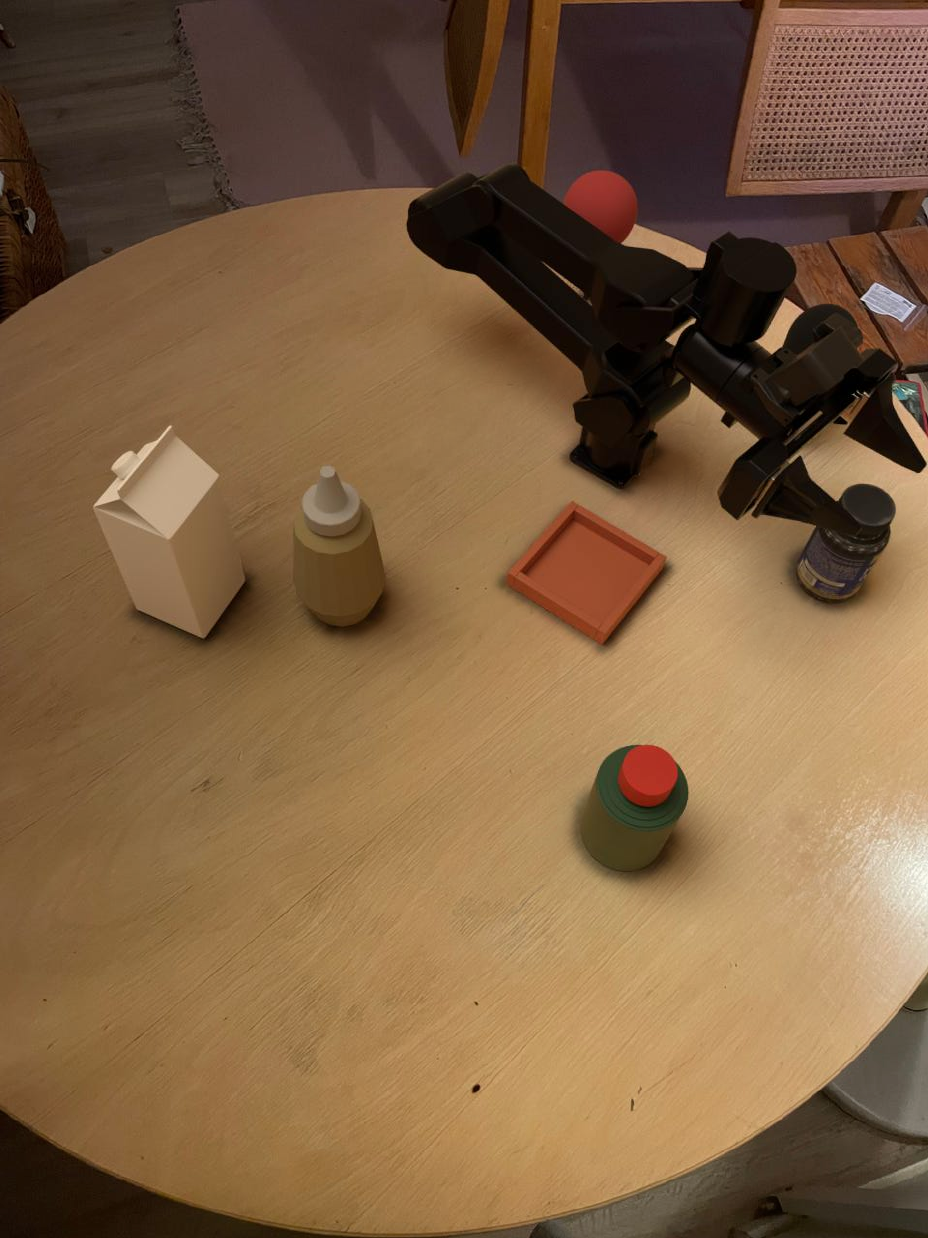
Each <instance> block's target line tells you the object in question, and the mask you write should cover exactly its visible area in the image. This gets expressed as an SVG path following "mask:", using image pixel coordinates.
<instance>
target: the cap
mask: <svg viewBox="0 0 928 1238" xmlns="http://www.w3.org/2000/svg"><path fill="white" fill-rule="evenodd" d="M639 745H640V746H637V747H635V748H633V749H632V750H631V751H630V752H629V753H628V754H627V755H626V756H625V758H624V761H623V763H622V766H621V769H620V771H619V776H618V782H619V786H620V789H621V791H622V793H623V794H624V795H625V797H626V798H627V799H629V800H630V801H631V802H633V803H635V804H637V805H640V806H647V807H648V806H655V805H658V804H660V803H662V802H663V801H665V800H666V799H667V797H668V796H669V794H670V792H671V790H672V789H673V787H674V785H675V783H676V780H677V777H678V769H677V765H676V763H677V762H676V763H675V761H676V760H675V759H674V757H673V756H672V755H671V754H670V753H669V752H668V751H667V750H665V749H664V748H663V747H660V746H658V745H653V744H639ZM674 760H675V761H674Z"/></svg>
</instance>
